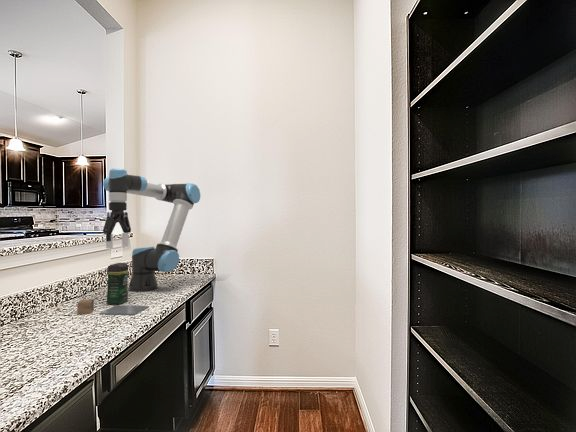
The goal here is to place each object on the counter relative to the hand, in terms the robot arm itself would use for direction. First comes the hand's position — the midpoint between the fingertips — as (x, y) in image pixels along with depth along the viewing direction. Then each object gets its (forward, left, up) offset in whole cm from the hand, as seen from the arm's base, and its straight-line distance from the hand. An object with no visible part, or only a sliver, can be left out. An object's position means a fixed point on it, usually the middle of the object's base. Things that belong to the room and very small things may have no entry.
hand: (117, 247), depth 171 cm
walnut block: (+18, -4, -26) cm, 32 cm away
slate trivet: (+14, +11, -26) cm, 31 cm away
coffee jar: (0, 0, -26) cm, 26 cm away
